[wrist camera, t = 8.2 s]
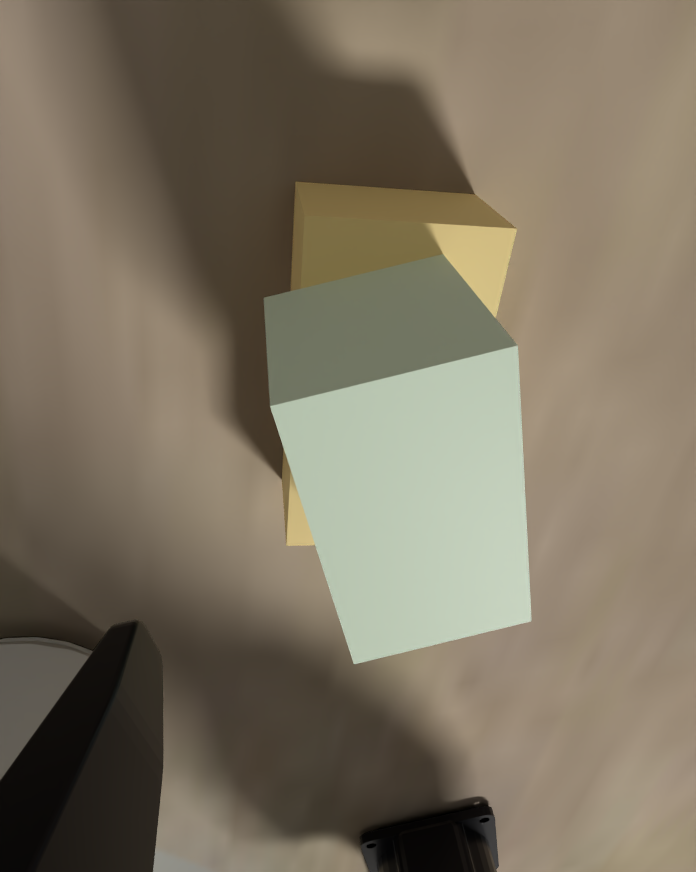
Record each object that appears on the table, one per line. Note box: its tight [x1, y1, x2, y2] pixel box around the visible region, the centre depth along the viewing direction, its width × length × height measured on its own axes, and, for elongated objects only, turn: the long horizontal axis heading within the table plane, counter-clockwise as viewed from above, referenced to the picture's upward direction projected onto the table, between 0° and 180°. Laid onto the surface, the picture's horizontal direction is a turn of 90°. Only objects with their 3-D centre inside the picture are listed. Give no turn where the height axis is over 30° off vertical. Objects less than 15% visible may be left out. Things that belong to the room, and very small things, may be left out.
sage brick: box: [264, 254, 531, 664], centre depth 12 cm, size 6×4×4 cm, turn 11°
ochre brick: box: [282, 182, 517, 546], centre depth 15 cm, size 8×4×3 cm, turn 175°
